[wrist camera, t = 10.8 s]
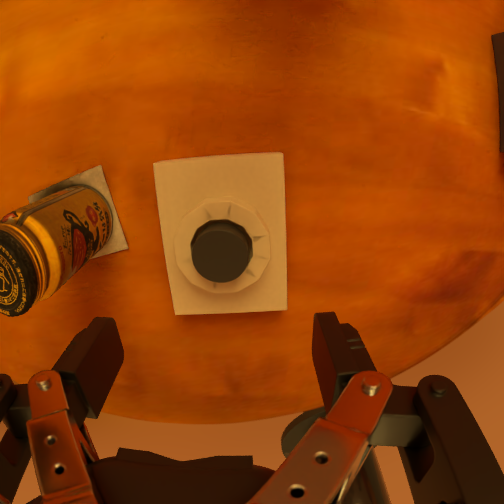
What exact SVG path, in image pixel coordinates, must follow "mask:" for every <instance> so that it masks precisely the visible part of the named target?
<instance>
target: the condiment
mask: <svg viewBox="0 0 504 504" xmlns="http://www.w3.org/2000/svg"><path fill="white" fill-rule="evenodd" d="M28 200H29V203H30V204H28V205H26V206H24V207H21V208H19V209H17V210H15V211H12V212H11V213H9V214H7V215H6V216H4V217H3V218H2V219H1V220H0V313H2V314H4V315H7V316H9V317H10V316H11V317H14V316H19V315H22V314H24V313H26V312H27V311H28V310H29V308H31V307H32V306H33V305H35V304H36V303H38V302H39V301H42V300H45V299H47V298H49V297H50V296H52V295H53V294H54V293H55V292H56V291H57V290H58V289H59V288H60V287H61V286H62V285H63V284H65V283H66V281H67V280H69V279H70V277H71V276H73V275H74V274H75V273H76V272H77V271H78V270H79V269H80V268H81V267H82V266H83V265H85V264H86V262H88V261H89V260H90V259H92V258H96V257H99V256H103V255H106V254H110V253H114V252H117V251H120V250H124V249H129V248H128V245H127V243H126V240H125V237H124V234H123V231H122V228H121V225H120V222H119V219H118V216H117V212H116V210H115V207H114V204H113V201H112V198H111V195H110V192H109V189H108V186H107V184H106V180H105V177H104V174H103V170H102V167H101V165H99V166H97V167H94V168H92V169H89V170H87V171H85V172H82V173H80V174H77V175H75V176H73V177H71V178H68V179H66V180H64V181H61V182H59V183H57V184H55V185H53V186H50V187H48V188H46V189H44V190H42V191H40V192H37V193H35V194H33V195H31V196H29V197H28Z"/></svg>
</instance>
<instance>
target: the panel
mask: <svg viewBox="0 0 504 504" xmlns="http://www.w3.org/2000/svg"><path fill="white" fill-rule="evenodd" d="M492 41H493V48H494V54H495V62H496V70H497V79H498V91H499V106H500V152H504V32H502V33H498V34H494V35H492Z"/></svg>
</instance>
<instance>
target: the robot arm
mask: <svg viewBox="0 0 504 504" xmlns="http://www.w3.org/2000/svg"><path fill="white" fill-rule="evenodd" d="M312 357H313V363H314V367H315V370H316V374H317V378H318V382H319V386H320V390H321V394H322V398H323V402H324V406H325V410H326V414H327V416H326V417H325V418H322V417H319V418H318V419H317V420H316V421H315V422H314V423H313V425H312V426H311V427H310V429H309V430H308V431H307V433H306V434H305V435H304V437H303V438H302V439H301V441H300V442H299V443H298V444H297V446H296V447H295V448H294V450H293V451H292V452H291V453H290V455H289V456H288V457H287V458H286V460H285V461H284V462H283V463H282V464H281V466H280V467H279V468H278V469H277V470H276V471H274V470H271V469H269V468H266V467H262V466H257V465H253V458H252V456H214V457H208V458H202V459H196V460H189V461H177V460H174V459H170V458H167V457H164V456H161V455H158V454H155V453H152V452H149V451H141V450H133V449H125V448H119V449H118V452H117V455H116V456H115V457H108V458H104V459H99V457H98V455H97V452H96V450H95V448H94V445H93V443H92V440H91V438H90V435H89V433H88V430H87V427H86V425H85V423H84V420H85V418H86V417H87V418H94V419H97V418H98V416H99V414H100V411H101V409H102V407H103V405H104V402H105V400H106V398H107V396H108V394H109V391H110V389H111V387H112V385H113V383H114V381H115V378H116V376H117V374H118V372H119V370H120V368H121V366H122V363H123V360H124V350H123V346H122V343H121V340H120V336H119V333H118V329H117V326H116V322H115V320H114V319H113V318H110V317H95V318H94V319H93V321H92V322H91V323H90V325H89V326H88V327H87V328H85V329H83V330H82V331H81V332H79V333H78V334H77V335H76V336H75V337H74V338H73V340H72V341H71V342H70V344H69V345H68V347H67V348H66V351H64V352H63V354H62V355H61V356H60V358H59V359H58V361H57V362H56V364H55V365H54V367H53V368H52V369H51V370H43V371H40V372H38V373H36V374H35V375H33V376H32V377H31V378H30V380H29V382H28V384H18V385H14V383H13V381H12V380H11V378H10V376H8V375H7V374H0V422H1V421H3V422H4V424H5V425H6V427H7V428H8V429H7V431H6V432H5V434H4V436H3V438H2V440H1V442H0V504H12V502H13V499H14V497H15V494H16V492H17V489H18V487H19V484H20V481H21V479H22V477H23V474H24V472H25V470H26V467H27V465H28V463H29V460H30V458H31V456H32V459H33V464H34V468H35V473H36V476H37V480H38V485H39V488H40V492H41V495H40V496H38V497H37V498H35V499H33V500H32V501H30V502H28V503H26V504H391V501H390V498H389V495H388V492H387V488H386V485H385V482H384V479H383V475H382V472H381V469H380V466H379V463H378V460H377V457H376V454H375V451H374V447H373V445H380V446H397V447H398V450H399V453H400V457H401V460H402V463H403V466H404V469H405V472H406V475H407V479H408V482H409V486H410V489H411V493H412V496H413V500H414V503H415V504H504V474H503V472H502V470H501V468H500V466H499V464H498V462H497V460H496V458H495V456H494V454H493V452H492V450H491V448H490V446H489V444H488V443H487V440H486V439H485V437H484V435H483V433H482V431H481V429H480V427H479V426H478V424H477V422H476V420H475V418H474V416H473V415H472V413H471V411H470V409H469V408H468V406H467V404H466V402H465V401H464V399H463V397H462V395H461V394H460V392H459V390H458V389H457V387H456V385H455V384H454V383H453V382H452V381H451V380H450V379H448V378H446V377H444V376H440V375H429V376H426V377H424V378H423V379H421V380H420V382H419V384H418V386H417V387H409V386H397V385H393V384H392V382H391V380H390V379H389V378H388V377H387V376H386V375H384V374H382V373H380V372H377V370H376V368H375V366H374V364H373V362H372V360H371V358H370V356H369V354H368V352H367V349H366V348H365V345H364V343H363V341H361V337H360V335H359V333H358V331H357V330H356V329H355V328H354V327H352V326H351V325H350V324H348V323H345V324H340V323H339V321H338V319H337V316H336V314H335V312H323V313H315V314H314V323H313V338H312Z"/></svg>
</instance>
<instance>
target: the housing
mask: <svg viewBox="0 0 504 504" xmlns="http://www.w3.org/2000/svg"><path fill="white" fill-rule="evenodd" d="M153 167H154V177H155V186H156V195H157V203H158V211H159V218H160V226H161V233H162V240H163V247H164V253H165V260H166V266H167V272H168V278H169V284H170V289H171V295H172V300H173V306H174V311H175V315H188V314H219V313H242V312H262V311H278V310H287V250H286V209H285V179H284V154H283V153H281V152H262V153H243V154H228V155H215V156H203V157H192V158H182V159H173V160H164V161H159V162H156V163H154V164H153ZM219 222H223V223H229V224H232V225H234V226H236V227H237V228H239V229H240V230H241V231H242V232H243V233H244V235H245V236H246V239H247V241H248V246H249V259H248V264H247V267H246V269H245V271H244V272H243V273H242V274H241V275H240V276H239V277H238V278H236V279H235V280H233V281H230V282H226V283H216V282H212V281H209V280H207V279H205V278H204V277H202V276H201V275H200V274H199V273H198V272H197V270H196V269H195V267H194V265H193V262H192V249H193V246H194V244H195V241H196V239H197V237H198V235H199V234H200V232H201V231H202V230H203V229H204V228H206V227H207V226H209V225H211V224H214V223H219Z"/></svg>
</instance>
